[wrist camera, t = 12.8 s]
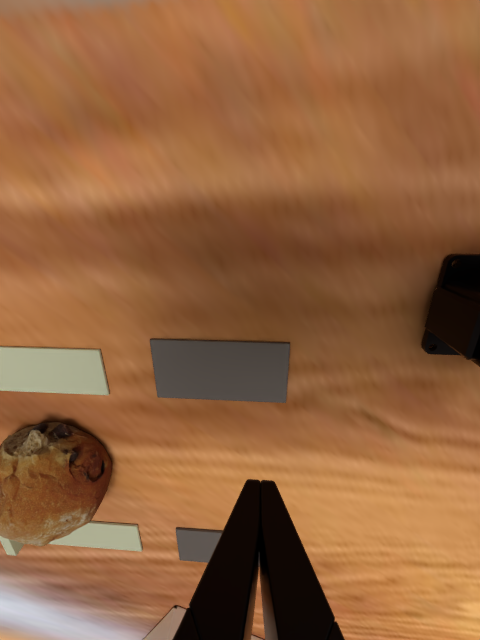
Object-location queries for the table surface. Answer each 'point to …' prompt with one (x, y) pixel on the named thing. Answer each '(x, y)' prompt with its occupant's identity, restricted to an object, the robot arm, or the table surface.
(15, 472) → the bread roll
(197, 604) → the robot arm
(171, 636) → the gable box
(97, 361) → the trap lane
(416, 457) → the table surface
